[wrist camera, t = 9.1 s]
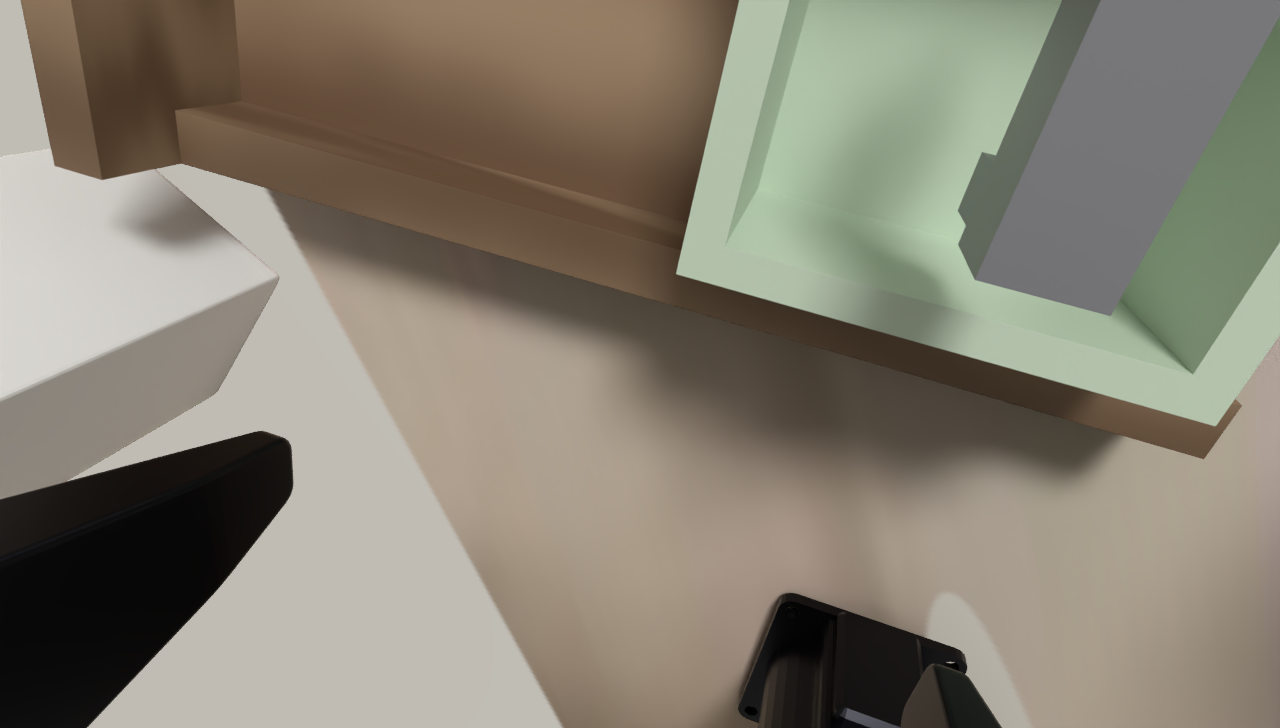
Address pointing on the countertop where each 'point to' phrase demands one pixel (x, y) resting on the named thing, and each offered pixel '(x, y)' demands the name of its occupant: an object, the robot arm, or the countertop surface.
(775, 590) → the countertop surface
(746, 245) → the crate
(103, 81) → the bay
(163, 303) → the milk carton
